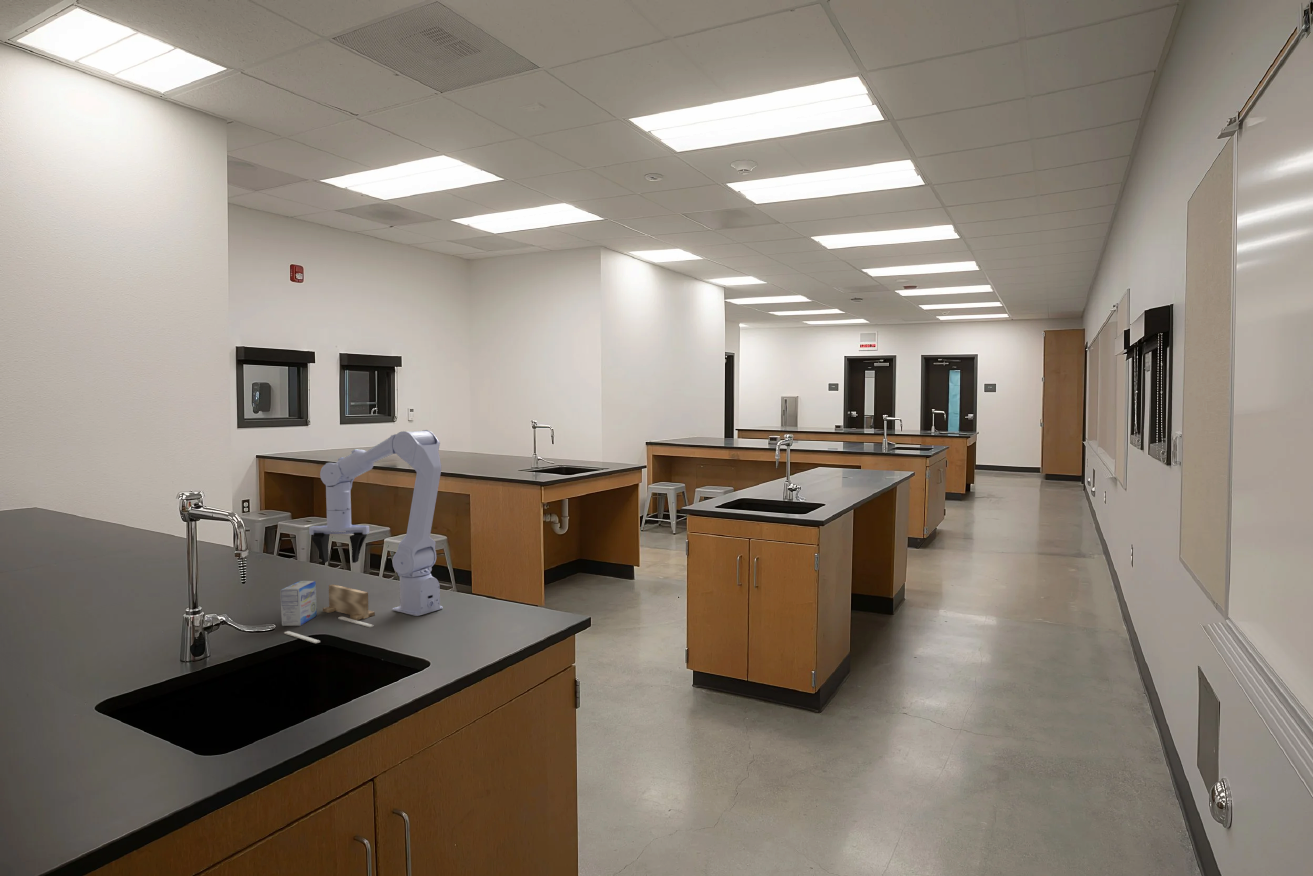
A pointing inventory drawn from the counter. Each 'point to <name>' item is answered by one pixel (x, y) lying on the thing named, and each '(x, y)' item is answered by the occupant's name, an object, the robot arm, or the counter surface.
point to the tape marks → (318, 640)
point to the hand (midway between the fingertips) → (340, 562)
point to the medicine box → (298, 603)
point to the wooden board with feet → (348, 602)
